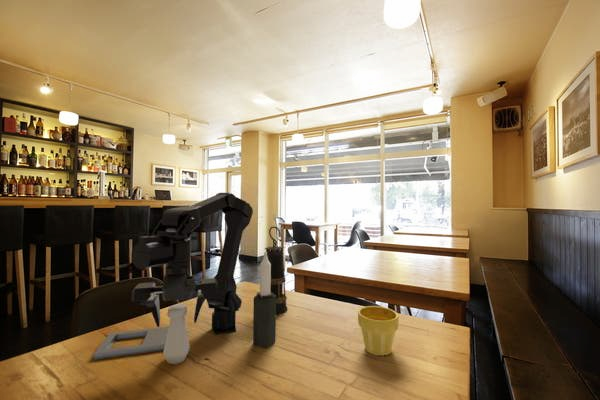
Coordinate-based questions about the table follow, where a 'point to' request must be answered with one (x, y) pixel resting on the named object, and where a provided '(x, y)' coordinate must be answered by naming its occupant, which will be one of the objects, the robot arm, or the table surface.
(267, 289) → the candle
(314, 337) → the table surface
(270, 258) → the lantern
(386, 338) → the plant pot
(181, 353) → the salt shaker
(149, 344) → the rail plate
